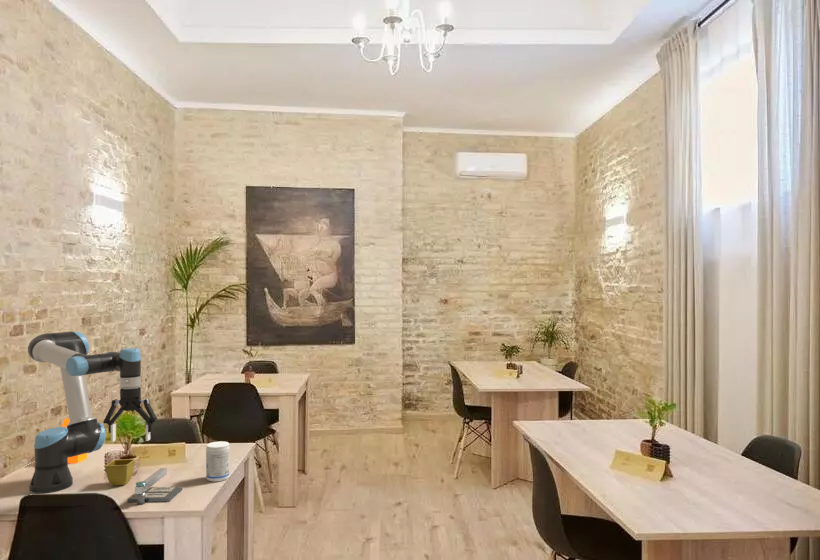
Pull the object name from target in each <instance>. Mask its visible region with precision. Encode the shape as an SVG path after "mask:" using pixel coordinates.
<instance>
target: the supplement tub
mask: <svg viewBox="0 0 820 560" xmlns="http://www.w3.org/2000/svg"><path fill="white" fill-rule="evenodd" d="M230 449H231V448H230V443H229V442H228V441H224V440H223V441H213V442H209V443H207V444H206V448H205V450H206V451H205V459H206V460H205V461H206V462H205V465H206V467H205V471H206V472H205V473H206V474H205V476H206V480H207V481H208V482H214V483H216V482H217V483H218V482H222V481H223V482H224V481H226V480H228V479H229V478H230V475H231V474H230V472H231V471H230V469H231V468H230V464H231V459H230V454H231V453H230Z"/></svg>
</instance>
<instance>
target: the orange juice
mask: <svg viewBox="0 0 820 560" xmlns="http://www.w3.org/2000/svg"><path fill="white" fill-rule="evenodd" d="M69 422H70V419H69V418H64V419H63V422H62V424H61V427H66V428H67V425H68V423H69ZM87 459H88V453H86V454H81V455H77V456H73V457H69V458H68V464H79V463H82V462H83V461H85V460H87Z"/></svg>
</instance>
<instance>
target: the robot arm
mask: <svg viewBox="0 0 820 560" xmlns="http://www.w3.org/2000/svg"><path fill="white" fill-rule="evenodd" d="M89 352H90V344H89V340H88V339H87V337H86V335H85V334H84V333H82V332H81V331H62V332H51V333H43V334H39V335H37V336H35V337H34V338H33V339H31V340H30V342H29V343H28V346H27V354H28V355H29V357H30V358H31V359H32V360H34V361H36V362H38V363H48V364H52V365H55V366H56V367H58V368H60V369H59V370H60V373H61V378H62V379H61V380H62V384H63V390H64V397H65V400H66V407H67V412H68V419H70V422H69V423H68V425H67V428H66V427H62V426H57V427H51V428H47V429H45V430H43V431H40V432H38V433H37V434H36V435H35V438H34V445H33V447H34V448H33V449H34V471H33V475H32V478H31V480H30V484H29V492H31V491H32V492H31V493H33V492H34V494H45V493H54V492H58V491H62V490H65V489H67V488H69V487H71V486H72V485H73V482H74V481H73V480H74V479H73V476H72V474H71V470H70V468H69V463H68V458H69V457H73V456H77V455H81V454H86V453H87V454H90V453H93V452H96V451H98V450H100V449H101V448H102V447H103V446H104V444H105V441H106V434H107V433H106V429H105V426H104V424H107V427H108V433H109V434H110V442H111V443H113V442H115V441H117V439H116V438H117V423H115V422H116V421H117V420H118V418H119V417H120V416H121V415H122V413H123V412H130V411H131V412H134V411H135V412H136V413H138V414H139V416H140V417H141V418H142V419H143V420H144V421H145V422H146V424H145V442H148V441H150V440H151V433H152V432H153V428H154V426H153V425H154V423H156V422H158V418H157V415H156V413H155V412H154V409H153V408H152V406H151V404H150V399H149V398H145V399H142V396H141V395H142V388H141V387H140V386H141V385H142V381H141V378H142V377H141V376H142V375H141V374H142V373H141V371H142V365H141V364H142V362H141V361H142V356H141V350H140V348H137V347H127V348H121V349H120V350H119V352H118V351H107V352H104V353H96V354H89ZM109 372H119V387H120V389H119V399H118V398H115V399H113V400H111V404H110V408H109V409H108V412H107V414H106V416H105V417H104V420H103V421H102V422H103V423H101V422H98V419H97V417H96V416H95V417H94V415H93V413H92V407H91V402H90V397H89V391H88V387H87V381H86V376H87V375H93V374H102V373H109ZM141 404H142V405H143V406H144V408H145V410H146V412H145V410H144V408H143V407H142V405H141ZM118 405H120V407H119V409H118V411H117V412H116V413H115V414H114V412H115V410H116V408H117V406H118Z"/></svg>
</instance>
